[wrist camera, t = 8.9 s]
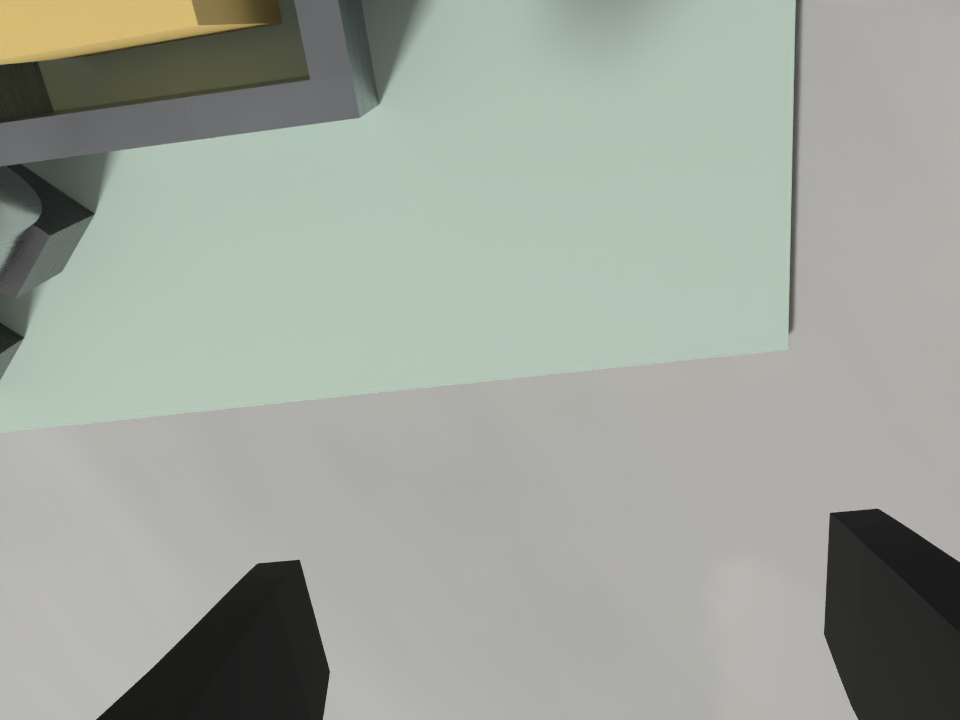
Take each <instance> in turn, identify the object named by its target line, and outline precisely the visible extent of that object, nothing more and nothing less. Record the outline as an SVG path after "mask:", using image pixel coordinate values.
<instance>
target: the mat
mask: <svg viewBox="0 0 960 720" xmlns="http://www.w3.org/2000/svg"><path fill="white" fill-rule="evenodd" d="M277 1H278V5H279V10H280V14H281V18H282V23H279V24H273V25H267V26H261V27H255V28H250V29H244V30H238V31H232V32H226V33H220V34H214V35H209V36H203V37H197V38H191V39H185V40H179V41H173V42H168V43H162V44H156V45H150V46H144V47H138V48H132V49H127V50H121V51H115V52H109V53H103V54H97V55H91V56H86V57H77V58H66V59H56V60H45V61H38V64H39V67H40V70H41V73H42V76H43V79H44V82H45V85H46V89H47V92H48V95H49V98H50V101H51V104H52V107H53V110H54V111H58V110H65V109H73V108H80V107H87V106H94V105H101V104H108V103H115V102H122V101H129V100H137V99H144V98H151V97H158V96H165V95H172V94H179V93H186V92H194V91H201V90H208V89H215V88H222V87H229V86H236V85H243V84H251V83H258V82H265V81H272V80H279V79H286V78H293V77H300V76H307V75H309V71H308V67H307V62H306V57H305V52H304V47H303V42H302V37H301V32H300V27H299V22H298V18H297V13H296V8H295V3H294V0H277ZM361 2H362V8H363V14H364V19H365V25H366V31H367V37H368V42H369V48H370V54H371V60H372V65H373V71H374V77H375V83H376V88H377V94H378V100H379V105H378V106H377V107H375V108H374V109H372V110H371V111H369V112H368V113H366V114H365V115H363V116H362V117H360V118H356V119H348V120H341V121H333V122H326V123H319V124H311V125H304V126H296V127H289V128H282V129H274V130H267V131H259V132H252V133H245V134H237V135H230V136H222V137H215V138H208V139H200V140H193V141H185V142H178V143H171V144H163V145H156V146H148V147H141V148H134V149H126V150H119V151H111V152H104V153H97V154H89V155H82V156H74V157H67V158H60V159H52V160H45V161H37V162H30V163H23V164H22V165H23V166H25V167H26V168H28V169H29V170H31V171H32V172H34V173H35V174H37V175H38V176H40V177H41V178H43V179H44V180H45V181H47V182H48V183H50V184H51V185H53V186H54V187H56V188H57V189H59V190H60V191H62V192H63V193H65V194H66V195H68V196H69V197H71V198H72V199H73V200H75V201H76V202H78V203H79V204H81V205H82V206H84V207H85V208H87V209H88V210H90V211H91V212H93V213H94V214H95V215H94V217H93V219H92V220H91V222H90V224H89V226H88V227H87V229H86V231H85V233H84V234H83V236H82V238H81V240H80V241H79V243H78V245H77V247H76V248H75V250H74V252H73V254H72V255H71V257H70V259H69V261H68V262H67V264H66V266H65V268H64V269H63V271H62V272H61V273H59V274H58V275H56V276H54V277H52V278H51V279H49V280H47V281H45V282H44V283H42V284H40V285H38V286H37V287H35V288H33V289H31V290H30V291H28V292H26V293H24V294H23V295H21V296H19V297H17V298H16V299H15V298H13V297H12V296H10V295H9V294H7V293H5V292H4V291H2V290H1V289H0V323H1V324H3V325H5V326H6V327H8V328H9V329H11V330H13V331H14V332H16V333H17V334H19V335H21V336H22V337H24V340H23V341H22V343H21V345H20V347H19V348H18V350H17V352H16V354H15V355H14V357H13V359H12V361H11V362H10V364H9V366H8V368H7V369H6V371H5V373H4V375H3V376H2V378H1V380H0V433H3V432H12V431H22V430H31V429H41V428H50V427H59V426H69V425H78V424H88V423H97V422H107V421H116V420H126V419H135V418H145V417H154V416H164V415H173V414H183V413H192V412H202V411H211V410H221V409H230V408H239V407H249V406H258V405H268V404H277V403H287V402H296V401H306V400H315V399H325V398H334V397H344V396H353V395H363V394H372V393H382V392H391V391H401V390H410V389H420V388H429V387H438V386H448V385H457V384H467V383H476V382H486V381H495V380H505V379H514V378H524V377H533V376H543V375H552V374H562V373H571V372H581V371H590V370H600V369H609V368H619V367H628V366H637V365H647V364H656V363H666V362H675V361H685V360H694V359H704V358H713V357H723V356H732V355H742V354H751V353H761V352H770V351H780V350H788V330H789V284H790V238H791V192H792V146H793V99H794V53H795V7H796V0H361Z"/></svg>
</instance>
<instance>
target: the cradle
mask: <svg viewBox="0 0 960 720" xmlns="http://www.w3.org/2000/svg"><path fill="white" fill-rule="evenodd" d="M294 3H295V8H296V13H297V18H298V22H299V27H300V32H301V37H302V42H303V47H304V52H305V57H306V62H307V67H308V71H309V75H307V76H300V77H293V78H286V79H279V80H272V81H265V82H258V83H251V84H243V85H236V86H229V87H222V88H215V89H208V90H201V91H194V92H186V93H179V94H172V95H165V96H158V97H151V98H144V99H137V100H129V101H122V102H115V103H108V104H101V105H94V106H87V107H80V108H73V109H65V110H58V111H54V110H53V107H52V104H51V101H50V98H49V95H48V92H47V89H46V85H45V82H44V79H43V76H42V73H41V70H40V67H39V64H38V61H35V62H24V63H14V64H4V65H0V166H8V165H15V164H23V163H30V162H37V161H45V160H52V159H60V158H67V157H74V156H82V155H89V154H97V153H104V152H111V151H119V150H126V149H134V148H141V147H148V146H156V145H163V144H171V143H178V142H185V141H193V140H200V139H208V138H215V137H222V136H230V135H237V134H245V133H252V132H259V131H267V130H274V129H282V128H289V127H296V126H304V125H311V124H319V123H326V122H333V121H341V120H348V119H356V118H360V117H362V116H363V115H365V114H366V113H368V112H369V111H371V110H372V109H374V108H375V107H377V106H378V105H379V100H378V94H377V88H376V83H375V77H374V71H373V65H372V60H371V54H370V48H369V42H368V37H367V31H366V25H365V19H364V14H363V8H362V2H361V0H294Z"/></svg>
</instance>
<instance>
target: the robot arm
mask: <svg viewBox="0 0 960 720" xmlns="http://www.w3.org/2000/svg"><path fill="white" fill-rule="evenodd" d="M824 635H825V638H826V640H827V643H828V646H829V649H830V651H831V654H832V657H833V660H834V662H835V665H836V668H837V670H838V673H839V676H840V678H841V681H842V683H843V686H844V688H845V691H846V693H847V696H848V698H849V701H850V703H851V706H852V708H853V710H854V712H855V714H856V716H857V718H858V720H960V562H959V561H957V560H955V559H954V558H952V557H951V556H949V555H948V554H946V553H945V552H943V551H942V550H940V549H939V548H937V547H936V546H934V545H933V544H931V543H930V542H928V541H927V540H926V539H924V538H923V537H921V536H920V535H918V534H917V533H915V532H914V531H912V530H911V529H909V528H907V527H906V526H904V525H903V524H901V523H900V522H898V521H897V520H895V519H894V518H892V517H891V516H889V515H887V514H886V513H884V512H882V511H881V510H879V509H870V510H858V511H847V512H836V513H830V523H829V544H828V565H827V585H826V606H825V627H824ZM329 674H330V671H329V667H328V663H327V660H326V656H325V652H324V648H323V645H322V641H321V637H320V634H319V630H318V626H317V622H316V619H315V615H314V611H313V608H312V604H311V600H310V597H309V593H308V589H307V585H306V582H305V578H304V574H303V571H302V567H301V563H300V560H293V561H282V562H270V563H259V564H257V565H256V566H255V567H253V568H252V569H251V570H250V571H249V572H248V573H247V574H246V575H245V576H244V577H243V578H242V579H241V580H240V581H239V582H238V583H237V584H236V585H235V586H234V587H233V588H232V589H231V590H230V591H229V592H228V593H227V594H226V595H225V596H224V597H223V598H222V599H221V600H220V601H219V602H218V603H217V604H216V605H215V606H214V607H213V608H212V609H211V610H210V611H209V612H208V613H207V614H206V615H205V616H204V617H203V618H202V619H201V620H200V621H199V622H198V623H197V624H196V625H195V626H194V627H193V628H192V629H191V630H190V631H189V632H188V633H187V634H186V635H185V636H184V637H183V638H182V639H181V640H180V641H179V642H178V643H177V644H176V645H175V646H174V647H173V648H172V649H171V650H170V651H169V652H168V653H167V654H166V655H165V656H164V657H163V658H162V659H161V660H160V661H159V662H158V663H157V664H156V665H155V666H154V667H153V668H152V669H151V670H150V671H149V672H148V673H147V674H146V675H144V676H143V677H142V678H141V679H140V680H139V681H138V682H137V683H136V684H135V685H134V686H132V687H131V688H130V689H129V690H128V691H127V692H126V693H125V694H124V695H123V696H122V697H120V698H119V699H118V700H117V701H116V702H115V703H114V704H113V705H112V706H111V707H110V708H108V709H107V710H106V711H105V712H104V713H103V714H102V715H101V716H100V717H99V718H98V719H97V720H323V714H324V708H325V701H326V694H327V688H328V681H329Z"/></svg>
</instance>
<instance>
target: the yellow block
mask: <svg viewBox="0 0 960 720" xmlns="http://www.w3.org/2000/svg"><path fill="white" fill-rule="evenodd" d="M279 23H282V18H281V14H280V10H279V5H278V1H277V0H0V65H4V64H14V63H24V62H35V61H45V60H56V59H66V58H77V57H86V56H91V55H97V54H103V53H109V52H115V51H121V50H127V49H132V48H138V47H144V46H150V45H156V44H162V43H168V42H173V41H179V40H185V39H191V38H197V37H203V36H209V35H214V34H220V33H226V32H232V31H238V30H244V29H250V28H255V27H261V26H267V25H273V24H279Z"/></svg>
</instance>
